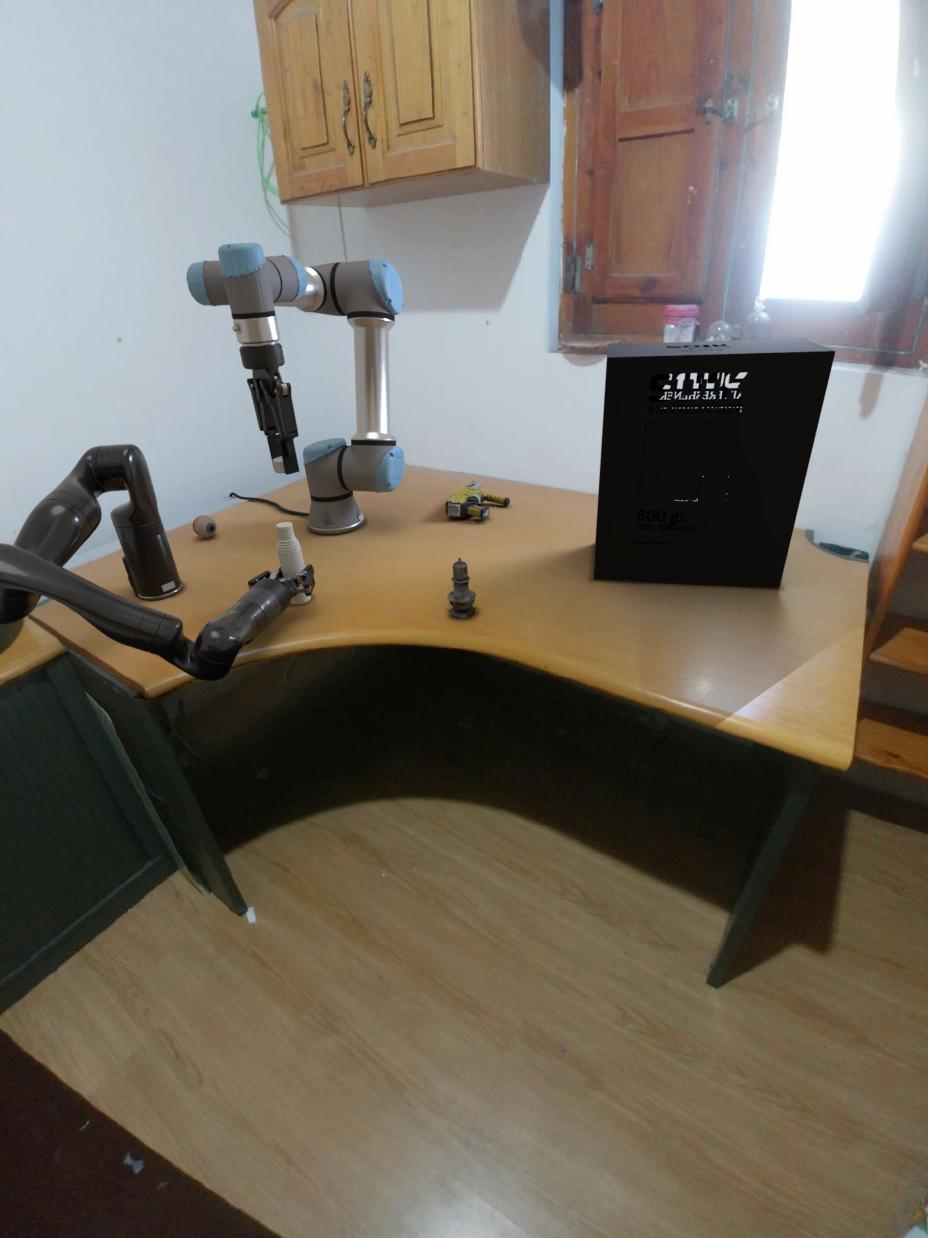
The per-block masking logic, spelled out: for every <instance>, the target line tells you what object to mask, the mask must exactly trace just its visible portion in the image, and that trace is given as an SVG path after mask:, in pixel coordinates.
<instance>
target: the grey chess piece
mask: <svg viewBox="0 0 928 1238" xmlns="http://www.w3.org/2000/svg"><path fill="white" fill-rule="evenodd" d="M470 580H471V577H470V576H469V572H468V564H467V563H466V562H465V561H464V560H462V558H461V557H460V556H459V557H458V558H457V561H455V562H453V564H452V576H451V582H452V584H453V590H452V591H450V592H449V593H448V594H447V597H446V598H447V600H448V602H449V604H450V606H451V608H450V609H449V614H450V615H451V616H452V617H453V618H460V619H463V618H470V617H472V616H473V615H475V613H476V611H477V610H476V607H474V606H473V605H474V604H475V601H476V598H477V593H476V592H475V591H474V590H471V589H470V584H469V581H470Z"/></svg>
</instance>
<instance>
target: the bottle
mask: <svg viewBox="0 0 928 1238" xmlns="http://www.w3.org/2000/svg"><path fill="white" fill-rule="evenodd" d="M275 529H276V532H277V536H278V537H277V547H276V551H277V555H278V559H279V565H280V567H281V569H282V574H283V578H287V577H289V576H290V575H292V574H298V573H300V572H302V570H303V569H304V568H305V567H306V566H305V561H304V557H303V551H302V546H301V543H299V540H298V538H297V537H296V535H295V532H294V527H293V523H292V522H291V521H282V522H279V523H277V524H276V525H275ZM300 580H301V581H302V577H301V579H300ZM311 598H312V594H311V595H310V596H306V595H305V593H298V594H297V595H296V596H294V597H292V598H291V600H290V603H289V604H291V605H303V604H306V603H308V602H309V601H311Z"/></svg>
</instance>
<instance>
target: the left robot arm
mask: <svg viewBox="0 0 928 1238" xmlns="http://www.w3.org/2000/svg"><path fill="white" fill-rule="evenodd" d="M152 480H153V479H152V476H151V473H150V469H149V465H148V461H147V459H146V456H145V455H144V452H143V451H142V449H141V448H139V446H137V445H135V444H133V443H120V444H105V445H98V446H97V445H96V446H93V447H90V448H89V449H87V450H86V451H85V452H84V453H83V454H82V455H81V457H80V459H79V460H77V463H76V464H75V465H74V467H73V468H72V469H71V471H70V472H69V473H68V475H66V477H64V479H63V480H62V481H61V482H60V483H59V484H58V485H56V487H55V488H53V490H51V491H50V492H49V493H47V494H46V496H44V498H43V499H41V500H40V501H39V502H38V503H37V504H36V505H35V506H34V508H33V509H32V510H31V511H30V513H29V514H28V515H27V518H26V519H25V521H24V522H23V523H22V526H21V528H20V530H19V532H18V534H17V536H16V539H15V540H14V543H13V544H10V543H3V542H0V626H3V625H10V624H13V623H17V622H19V621H21V620H23V619H24V618H27V617H28V616H29V615H30V614H31V613H32V612H33V611H34V610H35V609H36V607H37V606H38V603H39V602H40V600H41V598H42V596H43V597H45V598H48V599H51V600H53V601H55V602H57V603H59V604H61V605H63V606H65V607H67V608H68V609H70V610H71V611H73V612H75V613H76V614H77V615H78V616H80V617H81V618H82V619H84V620H85V621H86V622H87V623H88V624H90V626H92V627H93V628H95V629H96V630H97V631H99V632H100V633H101V634H103V635H104V636H106V637H107V638H108V639H110V640H112V641H114V642H116V643H118V644H120V645H123V646H126V647H130V648H132V649H135V650H138V651H142V652H145V653H148V654H151V655H154V656H157V657H158V658H161V659H163V660H164V661H165V662H167V663H169V664H170V665H172V666H173V667H174V668H177V669H178V670H180V671H182V672H183V673H185V674H187V675H189V676H190V677H192V678H195V679H198V680H201V681H206V682H214V681H219V680H222V679H224V678H226V677H227V675H229V673H230V671H231V669H232V667H233V665H234V662H235V661H236V659H237V657H238V655H239V653H240V651H241V650H242V648H243V647H245V646H249V645H250V644H252V643H254V641H255V640H256V639H257V638H259V637H260V635H262V633H263V632H264V631H265V630H266V629H268V628H269V627H270V626H271V625H273V624H274V622H275V621H277V619H278V618H279V617H280V616H281V615H282V614H283V613H284V612H285V611H286V609H287V608H288V607H289V605H290V604H291V603H290V600H291V598H292V597H294V596H296V595H297V594H298V593H305V595H306V596H310V595H311V596H312V594H313V591H314V589H315V587H316V581H315V567H314V566H313V564H311V563H308V564H307V565H306V566H305V568H304V569H303V570H302V572H300V573H298V574H292V575H290V576H289V577H287V578H283V574H282V569H281V566H280V567H279V568H277V569H274V570H272V571H270V570H265V571H263V572H261V573H259V574H258V575H256V576H254V577H252V578H251V579H249V580H248V581H247V584H248V588H249V590H247V591H246V592H245V593H244V594H242V596H241V597H240V598H239V599H238V600H237V602H235V604H234V605H232V607H231V608H230V609H228V610H227V611H226V612H225V613H223V614H221V615H219V616H217V617H215V618H213V619H211V620H210V621H208V622H207V623H206V624H205V625H204V626H203V627H202V628H201V629H200V631H199V632H198V634H197V636H196V639H195V641H193V640H191V639H190V638H189V637H187V636H186V635H185V634H184V623H183V620H182V619H181V618H179V617H177V616H176V615H172V614H170V613H167V612H165V611H162V610H159V609H156V608H153V607H150V606H147V605H144V604H142V603H138V602H136V601H133V600H131V599H128V598H125V597H123V596H120V595H118V594H116V593H114V592H113V591H110V590H108V589H106V588H104V587H102V586H100V585H98V584H97V583H94V582H92V581H90V580H88V579H86V578H85V577H83V576H81V575H79V574H77V573H75V572H73V571H71V570H69V569H67V568H65V567H64V566H65V565H66V564H67V563H68V562H69V561H70V560H71V559H72V558H73V557H74V556H75V554H76V553H77V552H78V550H79V549H80V548H81V547H82V546H83V545H84V544H85V543H86V542H87V541H88V540H89V539H90V538H91V537H92V535H93V534H94V532H95V531H96V530H97V529H98V528H99V526H100V523H102V518H103V513H102V507H101V505H100V502H99V499H98V498H99V497H100V496H101V495H103V494H106V493H110V492H127V493H128V497H129V500H128V501H127V502H124V503H122V504H120V505H118V506H116V507H114V508H113V509H112V510H111V511H110V514H109V515H110V520H111V522H112V525H113V527H114V531H115V533H116V536H117V539H118V541H119V544H120V547H121V549H122V553H123V556H122V557H121V561H122V564H123V566H124V569H125V571H126V574H127V580H128V583H129V585H130V588H132V591H133V594H134V596H135V597H139V599H140V600H144V601H157V600H162V599H163V600H164V599H166V598H169V597H172V596H174V595H176V594H178V593H180V591H182V589H183V587H184V585H183V582H182V580H181V577H180V574H179V570H178V567H177V564H176V561H175V558H174V555H173V551H172V548H171V546H170V545H171V544H170V543H169V539H168V536H167V533H166V530H165V527H164V524H163V521H162V517H161V515H160V512H159V507H158V500H157V495H156V491H155V488H154V484H153V481H152ZM301 577H302V581H301V580H300V579H301Z"/></svg>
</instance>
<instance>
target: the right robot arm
mask: <svg viewBox="0 0 928 1238" xmlns="http://www.w3.org/2000/svg"><path fill="white" fill-rule="evenodd" d="M217 256H218V260H206V259H205V260H202V261H196V262H193V263H191V264H190V265H189V266H188V268H187V271H186V277H185V278H186V284H187V288H188V292H189V293H190V295H191V297H192V299H193V300H194V301H195V302H196V303H197V304H199V305H201V306H204V307H206V306H207V307H208V306H211V307H217V306H218V307H220V306H229V308H230V313H231V318H232V322H233V326H232V327H231V329H232V331H233V332H235V336H236V340H237V341H236V342H237V343H238V344H240V345H242V346H240V347H239V348H238V350H239V351H238V352H239V355H240V360H241V363H242V367H243V369H246V370H251V371H252V372H251V373H252V377H249V378H247V379H246V383H247V386H248V389H249V391H250V395H251V400H252V403H253V408H254V411H255V416H256V422H257V425H258V429H259V431H260V432H263V434H264V436H265V437H266V440H267V445H268V450H269V454H270V459H271V463H272V468H273V469H274V466H273V459H274V458H277V457H280V456H282V460H283V464H284V469H285V473H284V474H285V475H286V476H287V475H288V476H289V475H292V474H296V473H299V472H300V466H299V462H298V457H297V451H296V445H295V441H294V439H295V438H299V435H300V433H299V429H298V424H297V419H296V412H295V407H294V403H293V398H292V397H293V396H292V385H291V383H290V382H284V381H283V378H282V375H281V372H280V370H279V369H280V367H283V366H284V365H285V363H286V360H285V355H284V350H283V345H282V344H281V343H280V342H279V341H280V340H281V333H280V328H279V323H278V317H277V315H276V310H275V307H284V308H286V307H287V308H296V309H298V310H299V311H301V312H304V313H315V314H322V315H327V316H334V317H346V323H347V324H348V325H349V326H350V327H351V328H352V330H353V352H354V354H353V356H354V387H355V388H354V389H355V390H354V392H355V418H356V419H355V421H356V422H355V423H356V425H355V427H356V432H355V433H354V434H353V435H352V436H351V437H350V445H348V444H347V441H346V439H345V438H342V437H334V438H328V439H323V440H318V441H315V442H313V443H309V444H308V445H306V446H305V447H304V448H303V450H302V457H303V458H302V460H303V467H304V471H305V477H306V481H307V486H308V492H309V498H310V507H309V512H303V511H296V510H291V509H287V508H285V507H283V506H281V505H280V504H279V503H277V502H275V501H272V500H270V499H265V498H261V497H250V496H243V495H242V496H241V495H239V494H237V492H234V491H233V492H230V493H229V495H228V497H230V498H231V497H235V498H237V499H238V500H244V501H255V502H263V503H266V504H270V505H272V506H274V507H277V508H278V509H279V510H280V511H282V512H284V513H288V514H291V515H297V516H304V517H308V521H307V522H308V523H307V524H308V528H309V529H308V530H310V531H311V532H312V533H314V534H317V535H323V536H324V535H325V536H327V535H329V536H331V535H339V534H340V535H341V534H345V533H350V532H353V531H355V530H357V529H359V528H361V527H362V526H363V525H364V523H365V516H364V514H363V512H362V510H361V508H360V505H359V504H358V501H357V500H356V498H355V495H354V492H367V493H369V492H371V493H375V494H376V493H378V494H379V493H391V492H393V491H396V490H397V489H398V487H399V486H400V485H401V482H402V481H403V480H402V479H403V477H404V472H405V466H406V458H405V455H404V453H405V452H404V450H403V449H402V447H400V446H397V438H396V437H395V436H394V435H393V434H392V432H391V398H390V397H391V394H390V392H391V389H390V387H391V386H390V384H391V383H390V330H391V329H392V328H393V327H394V326H395V324H396V316H399V315H400V314H401V313H402V312H403V310H404V305H405V304H404V303H405V302H404V301H405V298H404V296H405V295H404V290H403V284H402V281H401V277H400V276H399V273H398V270H397V269H396V267H395V266H394V265H393V264H392V262H390V261H388V260H386V259H374V258H370V259H364V260H353V261H336V262H335V261H333V262H328V263H323V264H317V265H310V266H306V265H303V264H302V263H301V262H300V261H299V260H298V259H297V258H295V257H293V256H288V255H284V254H281V255H268V256H266V255H265V251H264V248H263V247H262V245H261V244H260V243H257V242H238V243H236V242H235V243H225V244H221V245H220V246H219V247H218V249H217Z"/></svg>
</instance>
